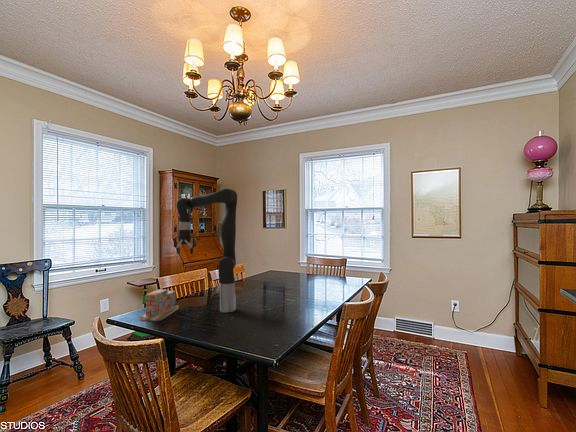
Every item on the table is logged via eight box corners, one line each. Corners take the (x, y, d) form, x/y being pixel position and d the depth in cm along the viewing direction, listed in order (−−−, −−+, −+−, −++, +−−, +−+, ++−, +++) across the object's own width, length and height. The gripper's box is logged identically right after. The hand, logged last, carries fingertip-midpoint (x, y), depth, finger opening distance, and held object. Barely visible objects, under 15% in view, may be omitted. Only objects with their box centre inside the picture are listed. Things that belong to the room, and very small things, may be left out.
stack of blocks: (166, 305, 189) (166, 285, 189) (175, 305, 188) (175, 286, 188) (145, 316, 168) (145, 294, 168) (155, 316, 167) (155, 294, 167)
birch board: (178, 308, 188) (178, 305, 188) (160, 320, 166) (160, 317, 166) (160, 308, 189) (160, 305, 189) (140, 320, 167) (140, 316, 167)
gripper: (197, 228, 196) (197, 253, 196) (177, 228, 198) (177, 253, 197) (193, 229, 189) (193, 254, 189) (171, 229, 190) (171, 254, 190)
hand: (184, 253), depth 193 cm, fingers open, 8 cm apart
